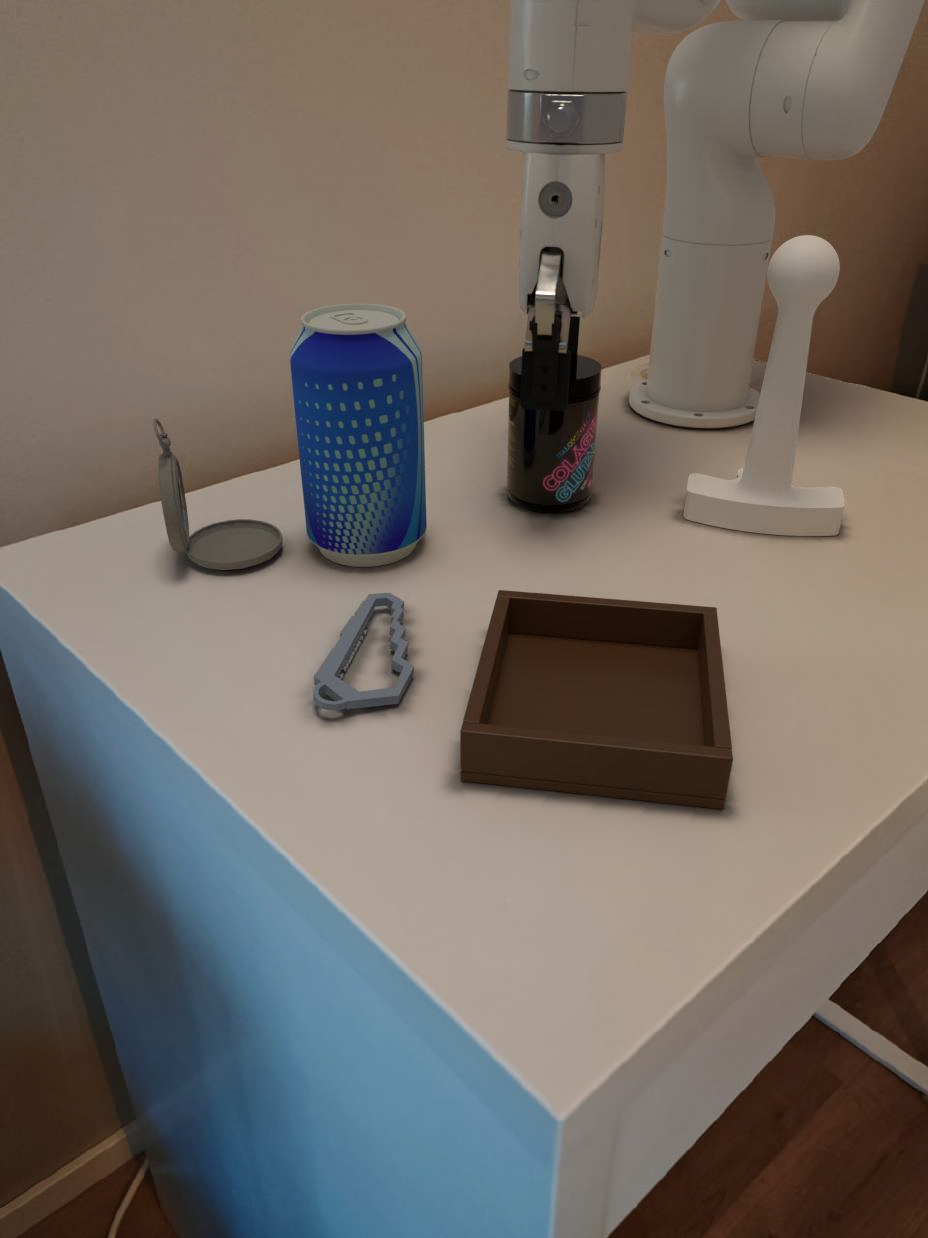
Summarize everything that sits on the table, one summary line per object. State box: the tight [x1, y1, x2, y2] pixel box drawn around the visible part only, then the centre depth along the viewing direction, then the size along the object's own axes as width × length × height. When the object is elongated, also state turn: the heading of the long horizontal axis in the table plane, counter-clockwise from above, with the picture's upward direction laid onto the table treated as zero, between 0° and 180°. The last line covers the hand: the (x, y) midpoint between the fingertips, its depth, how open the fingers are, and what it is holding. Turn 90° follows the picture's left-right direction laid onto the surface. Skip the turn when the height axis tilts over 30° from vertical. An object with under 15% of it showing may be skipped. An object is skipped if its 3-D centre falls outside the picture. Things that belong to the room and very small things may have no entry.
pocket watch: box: [153, 418, 283, 571], centre depth 65 cm, size 8×8×10 cm
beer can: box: [289, 302, 427, 568], centre depth 64 cm, size 8×8×16 cm
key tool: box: [312, 592, 415, 712], centre depth 56 cm, size 12×1×5 cm
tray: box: [459, 589, 734, 810], centre depth 51 cm, size 14×13×3 cm
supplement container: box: [506, 354, 603, 514], centre depth 73 cm, size 7×7×10 cm
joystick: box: [682, 234, 846, 537], centre depth 68 cm, size 11×8×20 cm
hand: (549, 387), depth 70 cm, fingers open, 9 cm apart
